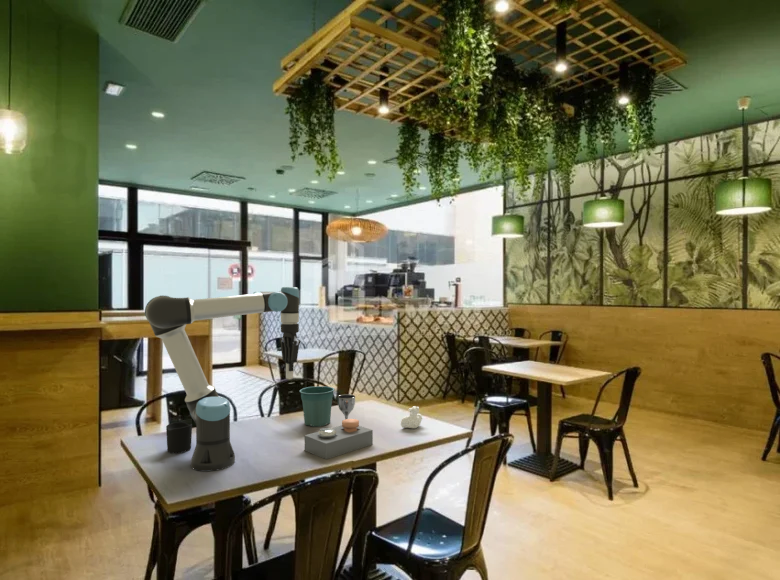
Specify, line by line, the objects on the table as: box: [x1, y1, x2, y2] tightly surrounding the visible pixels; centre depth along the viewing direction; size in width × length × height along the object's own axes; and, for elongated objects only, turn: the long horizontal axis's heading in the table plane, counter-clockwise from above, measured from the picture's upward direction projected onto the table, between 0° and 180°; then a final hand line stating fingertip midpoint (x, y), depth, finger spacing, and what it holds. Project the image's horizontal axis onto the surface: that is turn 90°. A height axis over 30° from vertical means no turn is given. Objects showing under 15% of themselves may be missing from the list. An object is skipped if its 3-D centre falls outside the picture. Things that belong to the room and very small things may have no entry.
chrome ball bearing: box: [317, 427, 336, 439], centre depth 189 cm, size 7×7×7 cm
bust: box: [400, 405, 423, 429], centre depth 220 cm, size 12×8×11 cm
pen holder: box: [165, 421, 193, 454], centre depth 190 cm, size 9×9×10 cm
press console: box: [304, 424, 374, 460], centre depth 193 cm, size 24×14×6 cm, turn 135°
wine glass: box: [337, 393, 356, 420], centre depth 218 cm, size 8×8×15 cm
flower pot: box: [299, 385, 335, 428], centre depth 227 cm, size 16×16×16 cm
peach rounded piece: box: [341, 418, 360, 433], centre depth 198 cm, size 7×7×7 cm
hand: (289, 378), depth 203 cm, fingers closed
